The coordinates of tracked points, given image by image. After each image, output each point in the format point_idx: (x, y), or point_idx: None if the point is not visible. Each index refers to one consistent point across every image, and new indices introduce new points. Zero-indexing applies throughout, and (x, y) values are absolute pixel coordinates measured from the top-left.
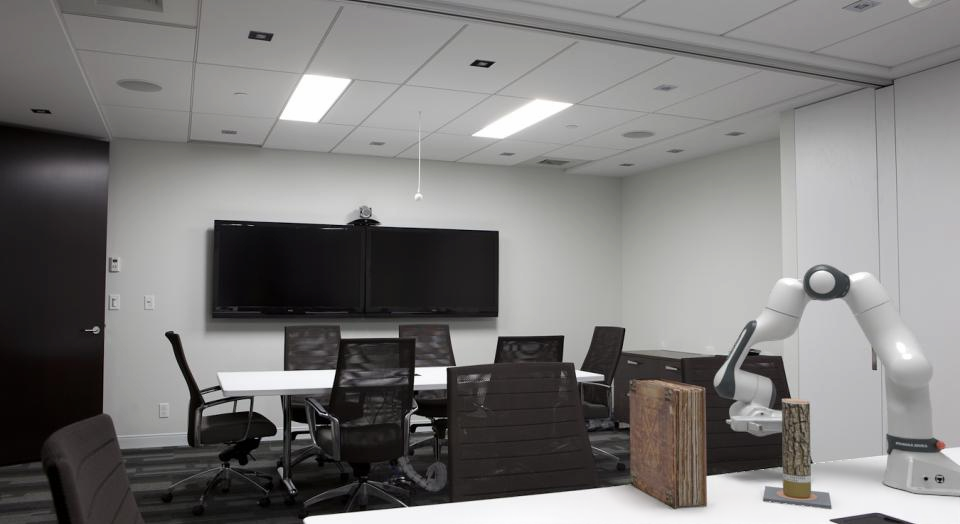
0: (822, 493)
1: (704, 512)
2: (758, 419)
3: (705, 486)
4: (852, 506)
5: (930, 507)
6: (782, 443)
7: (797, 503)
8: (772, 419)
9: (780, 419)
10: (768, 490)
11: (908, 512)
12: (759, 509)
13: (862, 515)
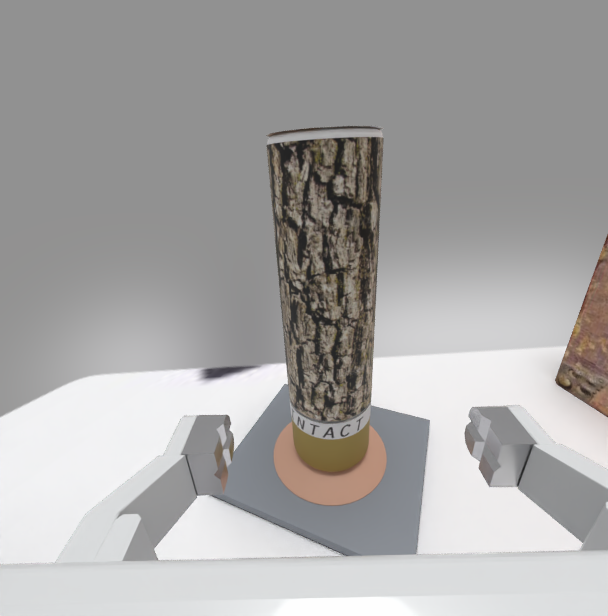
0: (236, 476)
1: (544, 358)
2: (575, 562)
3: (570, 343)
4: (224, 407)
5: (51, 412)
6: (374, 315)
7: None
8: (337, 570)
9: (202, 575)
10: (407, 500)
11: (144, 383)
12: (438, 378)
13: (250, 365)
